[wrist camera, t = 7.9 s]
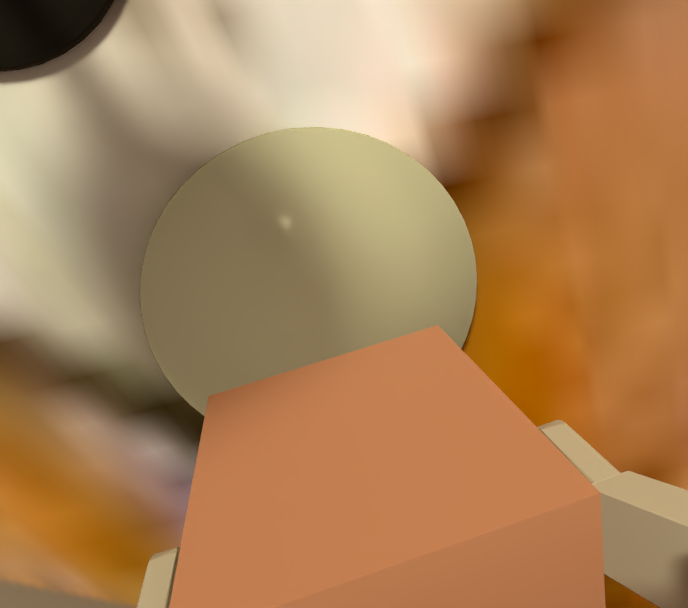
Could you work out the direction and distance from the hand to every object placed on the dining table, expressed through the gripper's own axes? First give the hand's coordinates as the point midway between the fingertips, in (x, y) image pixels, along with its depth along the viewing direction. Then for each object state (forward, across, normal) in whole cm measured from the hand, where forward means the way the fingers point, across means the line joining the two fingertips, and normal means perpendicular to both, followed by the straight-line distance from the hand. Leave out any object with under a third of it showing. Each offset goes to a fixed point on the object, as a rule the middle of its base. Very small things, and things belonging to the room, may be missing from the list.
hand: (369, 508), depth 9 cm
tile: (+12, 0, 0) cm, 12 cm away
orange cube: (+2, 0, 0) cm, 2 cm away
